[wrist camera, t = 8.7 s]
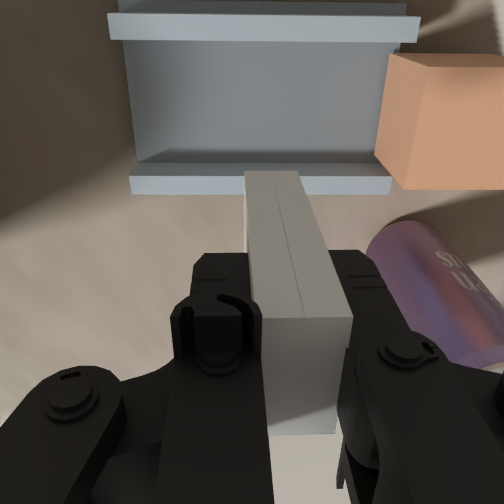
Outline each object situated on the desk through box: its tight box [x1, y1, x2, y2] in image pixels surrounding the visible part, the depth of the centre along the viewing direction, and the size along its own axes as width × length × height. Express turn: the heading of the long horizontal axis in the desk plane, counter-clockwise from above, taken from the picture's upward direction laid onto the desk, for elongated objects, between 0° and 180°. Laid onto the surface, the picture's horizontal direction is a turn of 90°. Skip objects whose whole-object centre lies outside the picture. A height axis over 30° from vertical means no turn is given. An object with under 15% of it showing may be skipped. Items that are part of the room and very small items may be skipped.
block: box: [374, 53, 504, 190], centre depth 24 cm, size 6×6×6 cm
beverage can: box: [365, 220, 504, 374], centre depth 27 cm, size 6×6×15 cm
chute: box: [107, 0, 421, 195], centre depth 26 cm, size 16×11×4 cm
